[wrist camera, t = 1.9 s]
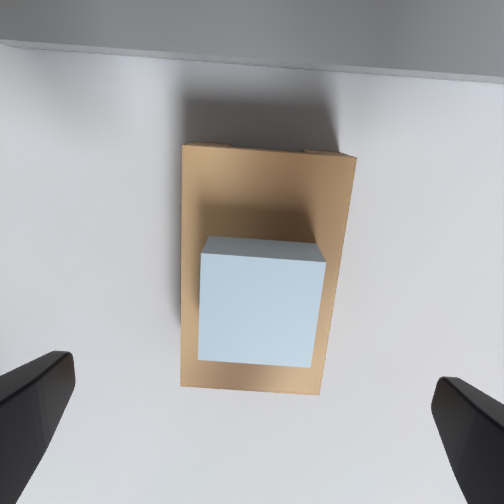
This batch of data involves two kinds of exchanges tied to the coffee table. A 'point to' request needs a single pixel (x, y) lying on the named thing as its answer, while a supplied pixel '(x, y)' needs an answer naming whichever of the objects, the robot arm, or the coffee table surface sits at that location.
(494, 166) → the coffee table surface
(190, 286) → the board
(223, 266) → the pale blue square block
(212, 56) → the slate dock
